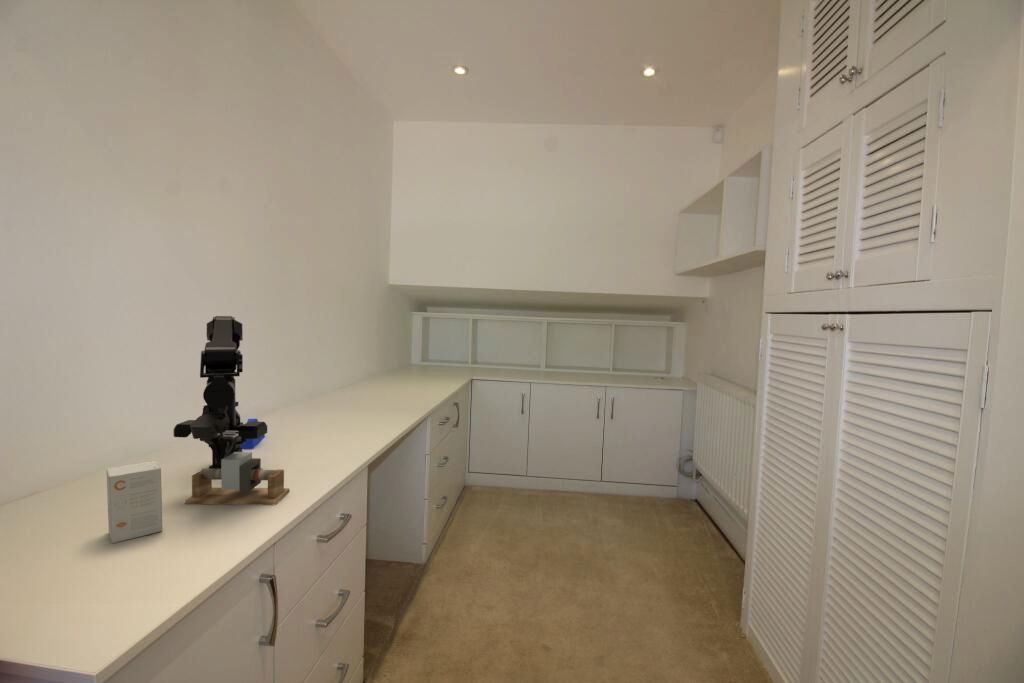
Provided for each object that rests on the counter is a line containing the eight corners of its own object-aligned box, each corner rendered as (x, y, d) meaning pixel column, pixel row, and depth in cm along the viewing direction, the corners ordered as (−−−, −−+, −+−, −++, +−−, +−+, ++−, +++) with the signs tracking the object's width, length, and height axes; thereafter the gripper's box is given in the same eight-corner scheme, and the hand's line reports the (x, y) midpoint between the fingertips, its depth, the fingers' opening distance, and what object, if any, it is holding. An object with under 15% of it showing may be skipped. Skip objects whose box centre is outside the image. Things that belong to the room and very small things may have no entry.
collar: (239, 491, 112) (239, 466, 112) (252, 482, 118) (252, 458, 118) (248, 492, 112) (248, 466, 112) (260, 482, 118) (260, 458, 118)
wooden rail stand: (185, 503, 111) (184, 473, 110) (205, 490, 119) (205, 462, 118) (275, 504, 112) (274, 474, 111) (289, 491, 120) (289, 463, 119)
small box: (158, 521, 102) (156, 459, 101) (163, 531, 97) (161, 467, 96) (107, 532, 96) (105, 467, 95) (110, 544, 92) (108, 476, 91)
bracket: (252, 449, 153) (252, 421, 153) (223, 450, 151) (223, 422, 151) (267, 434, 171) (267, 409, 170) (241, 435, 169) (240, 409, 168)
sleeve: (221, 489, 112) (221, 459, 111) (235, 480, 118) (235, 451, 117) (239, 489, 112) (239, 459, 112) (252, 480, 118) (252, 452, 118)
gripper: (156, 405, 105) (157, 476, 106) (244, 407, 106) (244, 478, 107) (188, 396, 116) (189, 460, 117) (268, 398, 117) (268, 462, 118)
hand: (221, 465), depth 115 cm, fingers closed
